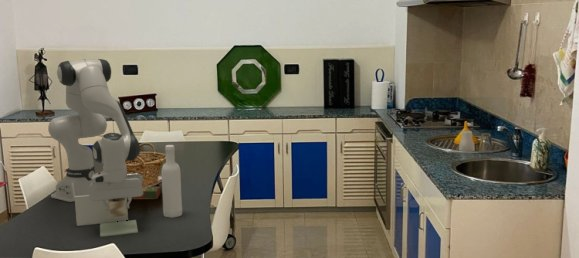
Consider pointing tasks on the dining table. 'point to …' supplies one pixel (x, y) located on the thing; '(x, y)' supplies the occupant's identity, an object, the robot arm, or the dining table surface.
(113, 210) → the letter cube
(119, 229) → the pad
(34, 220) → the dining table surface
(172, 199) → the bottle
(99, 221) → the screen
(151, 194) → the carton
